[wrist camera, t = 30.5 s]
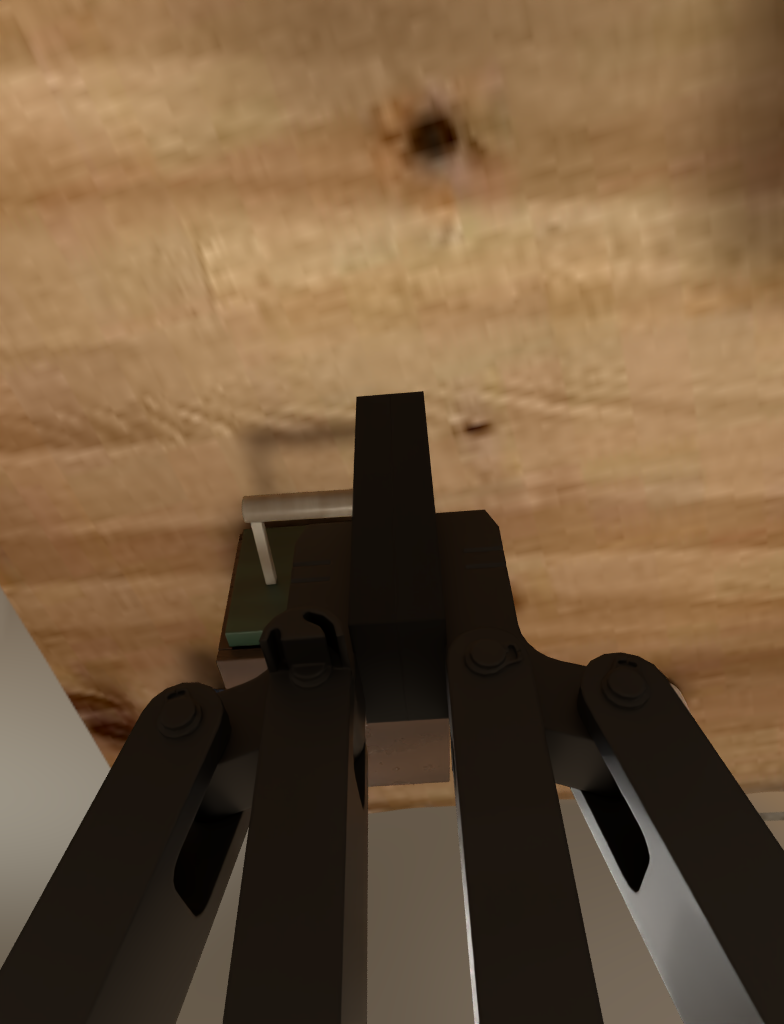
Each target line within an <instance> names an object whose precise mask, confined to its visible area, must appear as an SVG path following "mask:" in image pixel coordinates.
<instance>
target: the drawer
mask: <svg viewBox="0 0 784 1024" xmlns="http://www.w3.org/2000/svg"><path fill="white" fill-rule="evenodd" d="M352 505H353V489H348V490H333V491H318V492H302V493H287V494H271V495H256V496H245V497H243V500H242V515H243V519H244V521H245V522H246V523H251V527H252V529H245V530H244V532H243V537H242V543H241V548H240V554H239V559H238V564H237V570H236V575H235V581H234V586H233V592H232V597H231V603H230V608H229V614H228V619H227V624H226V630H225V635H226V638H227V641H228V644H229V647H235V646H249V648H261V646H260V643H259V639H260V637H261V634H262V632H263V629H264V628H265V626H266V625H267V624H268V623H269V622H270V621H271V620H272V619H273V618H274V617H275V616H277V615H279V614H281V613H282V612H284V611H286V610H287V603H288V595H289V587H290V584H291V580H290V579H291V571H292V567H293V555H294V548H295V542H296V541H297V539H298V538H299V536H300V535H301V533H302V532H303V530H304V529H305V528H306V526H307V525H306V526H290V527H275V528H265V524H264V522H268V521H284V520H299V519H315V518H330V517H346V516H352Z"/></svg>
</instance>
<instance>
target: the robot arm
mask: <svg viewBox="0 0 784 1024" xmlns="http://www.w3.org/2000/svg"><path fill="white" fill-rule="evenodd" d="M290 580H291V584H290V587H289V595H288V603H287V610H286V611H284V612H282V613H281V614H279V615H277V616H275V617H274V618H273V619H272V620H271V621H270V622H269V623H268V624H267V625H266V626H265V628H264V629H263V632H262V634H261V637H260V639H259V643H260V646H261V649H262V652H263V655H264V658H265V661H266V664H267V667H268V669H267V670H266V671H264V672H263V673H262V674H260V675H259V676H257V677H256V678H254V679H252V680H250V681H248V682H245V683H243V684H240V685H237V686H235V687H232V688H229V689H226V690H223V691H221V692H218V693H216V691H215V690H214V689H213V688H212V687H210V686H207V685H204V684H201V683H199V682H195V683H181V684H178V685H175V686H172V687H170V688H167V689H165V690H164V691H163V692H161V693H160V694H158V695H157V696H156V697H154V698H153V699H152V700H151V701H150V703H149V704H148V705H147V706H146V708H145V709H144V710H143V712H142V713H141V715H140V717H139V719H138V720H137V722H136V724H135V726H134V728H133V730H132V731H131V733H130V735H129V737H128V739H127V740H126V742H125V744H124V746H123V748H122V750H121V751H120V753H119V755H118V757H117V759H116V760H115V762H114V764H113V766H112V768H111V770H110V771H109V773H108V775H107V777H106V779H105V780H104V782H103V784H102V786H101V788H100V790H99V791H98V793H97V795H96V797H95V799H94V801H93V802H92V804H91V806H90V808H89V810H88V811H87V813H86V815H85V817H84V819H83V821H82V822H81V824H80V826H79V828H78V830H77V832H76V833H75V835H74V837H73V839H72V840H71V842H70V844H69V846H68V848H67V850H66V851H65V853H64V855H63V857H62V859H61V861H60V862H59V864H58V866H57V868H56V870H55V872H54V873H53V875H52V877H51V879H50V880H49V882H48V884H47V886H46V888H45V890H44V891H43V893H42V895H41V897H40V899H39V901H38V902H37V904H36V906H35V908H34V910H33V911H32V913H31V915H30V917H29V919H28V921H27V923H26V924H25V926H24V928H23V930H22V931H21V933H20V935H19V937H18V939H17V941H16V942H15V944H14V946H13V948H12V950H11V951H10V953H9V955H8V957H7V959H6V961H5V963H4V964H3V966H2V968H1V970H0V1024H176V1021H177V1018H178V1016H179V1013H180V1010H181V1008H182V1005H183V1002H184V1000H185V997H186V994H187V992H188V989H189V986H190V983H191V981H192V978H193V975H194V973H195V970H196V967H197V965H198V962H199V959H200V957H201V954H202V951H203V948H204V946H205V943H206V940H207V938H208V935H209V932H210V930H211V927H212V924H213V921H214V919H215V916H216V914H217V911H218V908H219V905H220V903H221V900H222V897H223V895H224V892H225V889H226V887H227V884H228V881H229V879H230V876H231V873H232V870H233V868H234V865H235V862H236V859H237V857H238V854H239V851H240V849H241V846H242V843H243V841H244V838H245V835H246V832H247V830H248V827H249V830H248V838H247V845H246V852H245V860H244V867H243V875H242V882H241V890H240V897H239V905H238V912H237V920H236V927H235V935H234V942H233V950H232V958H231V964H230V972H229V979H228V987H227V995H226V1002H225V1009H224V1017H223V1024H367V890H368V888H367V887H368V884H367V883H368V880H367V878H368V872H367V871H368V750H367V745H366V740H365V716H366V721H367V723H383V722H399V721H415V720H431V719H447V718H449V724H450V737H451V756H452V771H453V776H454V788H455V799H456V811H457V822H458V833H459V846H460V857H461V869H462V880H463V892H464V903H465V915H466V927H467V938H468V948H469V961H470V973H471V984H472V996H473V1007H474V1019H475V1024H604V1023H603V1018H602V1013H601V1008H600V1003H599V998H598V993H597V988H596V983H595V978H594V973H593V968H592V963H591V958H590V953H589V949H588V944H587V938H586V933H585V928H584V923H583V918H582V913H581V908H580V903H579V898H578V893H577V889H576V883H575V879H574V874H573V869H572V864H571V859H570V854H569V849H568V844H567V839H566V834H565V829H564V824H563V819H562V814H561V809H560V804H559V799H558V794H557V789H556V784H555V783H557V784H560V785H564V786H568V787H570V789H571V791H572V793H573V795H574V797H575V799H576V801H577V803H578V805H579V807H580V809H581V811H582V813H583V815H584V818H585V820H586V822H587V824H588V826H589V828H590V830H591V832H592V834H593V836H594V838H595V840H596V842H597V845H598V847H599V849H600V851H601V853H602V855H603V857H604V859H605V861H606V863H607V865H608V867H609V869H610V871H611V874H612V876H613V877H614V880H615V882H616V884H617V886H618V888H619V890H620V892H621V894H622V896H623V898H624V901H625V903H626V905H627V907H628V909H629V911H630V913H631V915H632V917H633V919H634V921H635V923H636V925H637V927H638V930H639V932H640V934H641V936H642V938H643V940H644V942H645V944H646V946H647V948H648V950H649V952H650V955H651V957H652V959H653V961H654V963H655V965H656V967H657V969H658V971H659V973H660V975H661V977H662V979H663V982H664V984H665V985H666V988H667V990H668V992H669V994H670V996H671V998H672V1000H673V1002H674V1004H675V1006H676V1008H677V1010H678V1012H679V1015H680V1017H681V1019H682V1021H683V1023H684V1024H784V850H783V849H782V848H781V846H780V844H779V843H778V841H777V840H776V839H775V837H774V836H773V834H772V833H771V831H770V830H769V828H768V827H767V825H766V824H765V822H764V821H763V819H762V818H761V816H760V815H759V814H758V812H757V811H756V809H755V808H754V806H753V805H752V803H751V802H750V800H749V799H748V797H747V796H746V794H745V793H744V791H743V790H742V789H741V787H740V786H739V784H738V783H737V781H736V780H735V778H734V777H733V775H732V774H731V772H730V771H729V769H728V768H727V766H726V765H725V764H724V762H723V761H722V759H721V758H720V756H719V755H718V753H717V752H716V750H715V749H714V747H713V746H712V744H711V743H710V742H709V740H708V739H707V737H706V736H705V734H704V733H703V731H702V730H701V728H700V727H699V725H698V724H697V722H696V721H695V719H694V718H693V717H692V715H691V714H690V712H689V711H688V709H687V708H686V706H685V705H684V703H683V702H682V700H681V699H680V697H679V696H678V694H677V693H676V692H675V690H674V689H673V687H672V686H671V684H670V683H669V681H668V680H667V678H666V677H665V676H664V675H663V674H662V673H661V672H660V671H659V670H658V669H657V668H656V666H655V665H654V664H652V663H650V662H648V661H646V660H644V659H642V658H641V657H639V656H635V655H630V654H626V653H611V654H604V655H602V656H600V657H597V658H595V659H593V660H591V661H590V663H589V664H588V665H587V666H582V665H577V664H573V663H568V662H563V661H559V660H556V659H553V658H550V657H547V656H546V655H544V654H542V653H540V652H538V651H537V650H535V649H534V648H533V647H532V646H531V645H530V644H529V643H528V642H527V641H526V640H525V638H524V637H523V635H522V634H521V631H520V628H519V626H518V622H517V617H516V611H515V606H514V601H513V596H512V591H511V586H510V581H509V576H508V571H507V567H506V561H505V556H504V551H503V546H502V541H501V536H500V530H499V526H498V525H497V524H496V523H495V521H494V520H493V519H492V518H491V517H490V515H489V514H488V513H487V512H486V511H485V510H473V511H459V512H446V513H435V505H434V495H433V485H432V474H431V464H430V454H429V444H428V434H427V423H426V413H425V403H424V393H423V391H422V392H409V393H397V394H385V395H373V396H360V397H357V399H356V426H355V452H354V479H353V505H352V521H346V522H333V523H319V524H308V525H307V526H306V528H305V529H304V530H303V532H302V533H301V535H300V536H299V538H298V539H297V541H296V542H295V548H294V555H293V567H292V571H291V579H290Z"/></svg>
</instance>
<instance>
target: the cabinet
mask: <svg viewBox="0 0 784 1024" xmlns="http://www.w3.org/2000/svg"><path fill="white" fill-rule="evenodd" d="M242 537H243V534H240V536H239V542H238V547H237V553H236V558H235V563H234V569H233V574H232V579H231V585H230V590H229V595H228V601H227V606H226V611H225V617H224V622H223V627H222V632H221V638H220V643H219V648H218V650H219V651H218V655H217V660H216V662H217V665H218V668H219V670H220V673H221V676H222V679H223V682H224V684H225V687H226V689H229V688H232V687H235V686H237V685H240V684H243V683H245V682H248V681H250V680H252V679H254V678H256V677H257V676H259V675H260V674H262V673H263V672H264V671H266V670H267V669H268V667H267V664H266V661H265V658H264V655H263V652H262V649H261V648H249V646H235V647H229V644H228V641H227V638H226V635H225V630H226V624H227V619H228V614H229V608H230V603H231V597H232V592H233V586H234V581H235V575H236V570H237V564H238V559H239V554H240V548H241V543H242ZM365 740H366V745H367V750H368V787H372V786H389V785H405V784H421V783H438V782H449V780H450V726H449V718H447V719H431V720H415V721H399V722H383V723H367V721H366V716H365Z"/></svg>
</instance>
